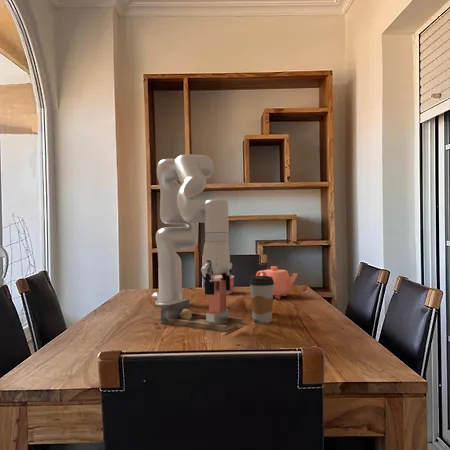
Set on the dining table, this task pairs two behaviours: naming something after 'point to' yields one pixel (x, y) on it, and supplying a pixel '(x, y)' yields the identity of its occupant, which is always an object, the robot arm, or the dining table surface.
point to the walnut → (185, 314)
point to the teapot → (279, 280)
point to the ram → (218, 304)
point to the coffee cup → (262, 298)
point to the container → (230, 282)
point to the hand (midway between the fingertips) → (217, 292)
